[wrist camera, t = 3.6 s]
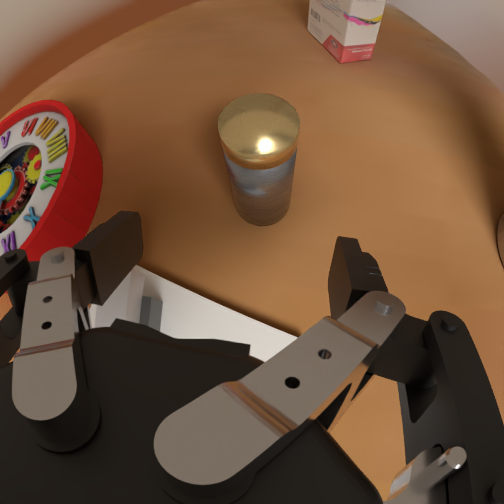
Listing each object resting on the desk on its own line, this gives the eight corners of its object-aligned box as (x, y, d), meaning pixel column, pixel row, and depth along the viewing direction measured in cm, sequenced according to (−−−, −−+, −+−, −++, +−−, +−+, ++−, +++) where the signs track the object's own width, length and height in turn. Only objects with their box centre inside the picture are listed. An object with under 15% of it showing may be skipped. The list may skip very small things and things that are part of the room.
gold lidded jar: (248, 171, 26) (238, 86, 16) (297, 188, 25) (310, 106, 16) (226, 214, 25) (203, 139, 15) (277, 234, 24) (282, 164, 15)
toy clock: (104, 82, 24) (40, 295, 18) (124, 118, 29) (81, 306, 24) (-15, 120, 25) (-66, 273, 19) (8, 143, 30) (-33, 285, 25)
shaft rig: (120, 257, 24) (86, 235, 19) (302, 340, 22) (313, 339, 16) (39, 489, 18) (6, 504, 12) (175, 573, 15) (160, 605, 10)
